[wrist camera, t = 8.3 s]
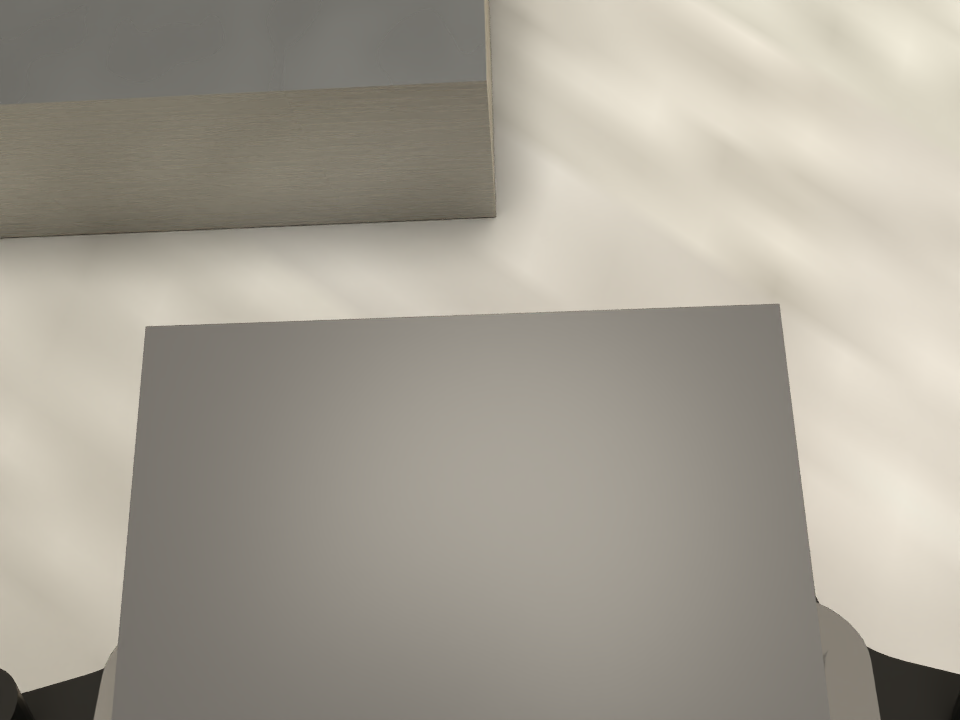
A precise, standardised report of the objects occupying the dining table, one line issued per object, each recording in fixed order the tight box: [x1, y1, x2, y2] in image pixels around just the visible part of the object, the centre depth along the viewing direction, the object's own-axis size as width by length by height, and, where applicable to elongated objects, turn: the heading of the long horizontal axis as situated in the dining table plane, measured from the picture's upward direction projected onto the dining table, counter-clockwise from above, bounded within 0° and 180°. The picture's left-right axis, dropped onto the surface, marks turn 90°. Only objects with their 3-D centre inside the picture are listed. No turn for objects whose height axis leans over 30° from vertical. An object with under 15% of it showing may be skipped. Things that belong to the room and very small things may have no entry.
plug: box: [111, 304, 831, 720], centre depth 10 cm, size 4×4×11 cm
